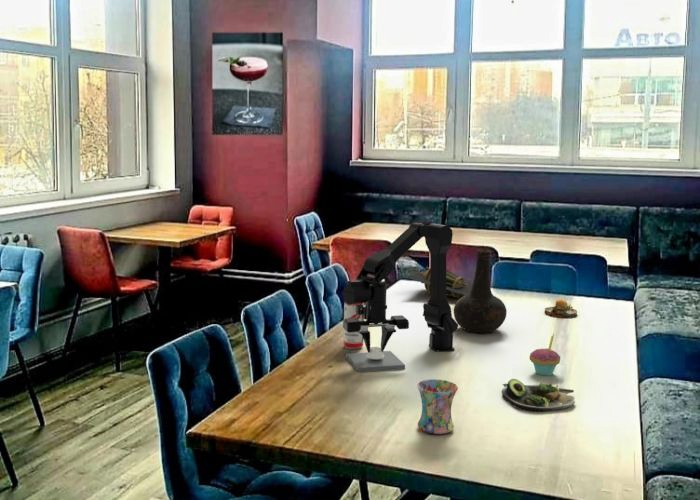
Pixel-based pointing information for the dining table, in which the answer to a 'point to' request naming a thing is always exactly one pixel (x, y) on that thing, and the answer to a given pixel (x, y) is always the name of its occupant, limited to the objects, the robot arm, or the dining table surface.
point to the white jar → (375, 353)
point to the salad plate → (536, 396)
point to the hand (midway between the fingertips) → (375, 351)
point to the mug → (436, 405)
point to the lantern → (453, 283)
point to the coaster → (374, 362)
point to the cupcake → (545, 360)
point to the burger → (561, 310)
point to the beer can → (352, 338)
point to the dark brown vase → (480, 301)
